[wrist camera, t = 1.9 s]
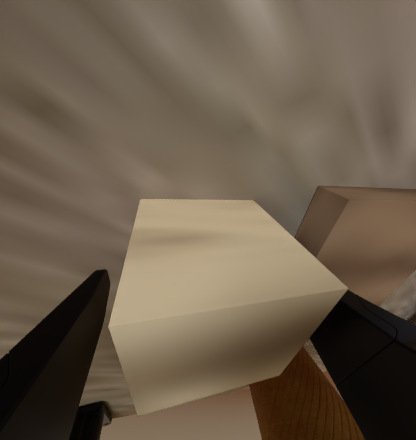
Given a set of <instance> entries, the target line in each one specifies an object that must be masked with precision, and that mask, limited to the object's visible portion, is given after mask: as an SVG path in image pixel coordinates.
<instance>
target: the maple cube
mask: <svg viewBox="0 0 416 440" xmlns="http://www.w3.org/2000/svg"><path fill="white" fill-rule="evenodd" d="M347 290H348V287H346V286H345V285H344V284H343V283H342V282H341V281H340V280H339V279H338V278H337V277H336V276H335V275H334V274H332V273H331V272H330V271H329V270H328V269H327V268H326V267H325V266H324V265H323V264H322V263H321V262H319V261H318V260H317V259H316V258H315V257H314V256H313V255H312V254H311V253H310V252H309V251H308V250H307V249H305V248H304V247H303V246H302V245H301V244H300V243H299V242H298V241H297V240H296V239H295V238H294V237H292V236H291V235H290V234H289V233H288V232H287V231H286V230H285V229H284V228H283V227H282V226H281V225H280V224H278V223H277V222H276V221H275V220H274V219H273V218H272V217H271V216H270V215H269V214H268V213H267V212H265V211H264V210H263V209H262V208H261V207H260V206H259V205H258V204H257V203H256V202H255V201H254V200H170V199H140V203H139V207H138V211H137V215H136V219H135V223H134V227H133V231H132V235H131V239H130V243H129V247H128V251H127V255H126V259H125V263H124V267H123V271H122V275H121V279H120V283H119V287H118V291H117V295H116V299H115V302H114V306H113V310H112V314H111V318H110V322H109V326H108V327H109V330H110V333H111V336H112V339H113V342H114V345H115V348H116V351H117V354H118V357H119V360H120V363H121V366H122V369H123V372H124V376H125V379H126V382H127V385H128V388H129V391H130V394H131V397H132V400H133V403H134V406H135V409H136V412H137V415H138V416H141V415H145V414H148V413H151V412H155V411H158V410H162V409H165V408H169V407H172V406H176V405H179V404H183V403H186V402H190V401H193V400H196V399H200V398H203V397H207V396H210V395H214V394H217V393H221V392H224V391H228V390H231V389H234V388H238V387H241V386H245V385H248V384H252V383H255V382H259V381H262V380H266V379H269V378H272V377H276V376H279V375H280V374H281V373H282V372H283V370H284V369H285V368H286V367H287V365H288V364H289V363H290V362H291V360H292V359H293V358H294V357H295V355H296V354H297V353H298V351H299V350H300V349H301V348H302V346H303V345H304V344H305V343H306V341H307V340H308V339H309V338H310V336H311V335H312V334H313V333H314V331H315V330H316V329H317V328H318V326H319V325H320V324H321V322H322V321H323V320H324V319H325V317H326V316H327V315H328V314H329V312H330V311H331V310H332V309H333V307H334V306H335V305H336V304H337V302H338V301H339V300H340V299H341V297H342V296H343V295H344V294H345V292H346V291H347Z"/></svg>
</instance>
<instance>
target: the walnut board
mask: <svg viewBox="0 0 416 440" xmlns="http://www.w3.org/2000/svg"><path fill="white" fill-rule="evenodd" d="M295 239H296V240H297V241H298V242H299V243H300V244H301V245H302V246H303V247H304V248H305V249H307V250H308V251H309V252H310V253H311V254H312V255H313V256H314V257H315V258H316V259H317V260H318V261H319V262H321V263H322V264H323V265H324V266H325V267H326V268H327V269H328V270H329V271H330V272H331V273H332V274H334V275H335V276H336V277H337V278H338V279H339V280H340V281H341V282H342V283H343V284H344V285H345V286H346V287H348V290H350V291H351V292H353V293H354V294H357V295H359V296H360V297H362V298H364V299H366V300H368V301H369V302H371V303H373V304H375V305H377V306H380V305H381V304H382V303H383V302H384V301H385V300H386V299H387V298H388V297H389V296H390V295H391V294H392V293H393V292H394V291H395V290H396V289H397V288H398V287H399V286H400V285H401V284H402V283H403V282H404V281H405V280H406V279H407V278H408V277H409V276H410V275H411V274H412V273H413V272H414V271H415V270H416V190H415V189H388V188H362V187H335V186H318V188H317V190H316V192H315V195H314V197H313V199H312V201H311V204H310V206H309V208H308V210H307V212H306V215H305V217H304V219H303V221H302V223H301V226H300V228H299V230H298V232H297V234H296V237H295Z"/></svg>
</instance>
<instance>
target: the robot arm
mask: <svg viewBox="0 0 416 440" xmlns="http://www.w3.org/2000/svg"><path fill="white" fill-rule="evenodd" d="M109 290H110V279H109V275H108V272H107V270H105V269H104V270H96V271H95V272H94V273H92V274H91V275H90V276H89V277H88V278H87V279H86V280H85V281H84V282H83V283H82V284H81V285H80V286H79V287H77V288H76V289H75V290H74V291H73V292H72V293H71V294H70V295H69V296H68V297H67V298H66V299H65V300H64V301H62V302H61V303H60V304H59V305H58V306H57V307H56V308H55V309H54V310H53V311H52V312H51V313H50V314H49V315H47V316H46V317H45V318H44V319H43V320H42V321H41V322H40V323H39V324H38V325H37V326H36V327H35V328H34V329H33V330H31V331H30V332H29V333H28V334H27V335H26V336H25V337H24V338H23V339H22V340H21V341H20V342H19V343H18V344H16V345H15V346H14V347H13V348H12V349H11V350H10V351H9V353H8V354H6V355H5V356H3V357H2V358H1V359H0V440H100V434H101V429H102V426H106V425H109V424H111V420H112V418H111V416H110V414H109V413H108V411H107V409H106V408H105V406H104V404H102V403H99V404H95V405H91V406H87V407H83V408H79V409H78V406H79V403H80V400H81V396H82V393H83V390H84V386H85V383H86V380H87V376H88V373H89V369H90V366H91V363H92V359H93V356H94V353H95V349H96V346H97V343H98V339H99V336H100V333H101V329H102V326H103V322H104V318H105V312H106V307H107V301H108V295H109ZM310 340H311V342H312V343H313V345H314V347H315V349H316V351H317V353H318V354H319V356H320V358H321V360H322V362H323V363H324V365H325V367H326V369H327V371H328V372H329V374H330V376H331V378H332V380H333V382H334V383H335V385H336V387H337V389H338V391H339V393H340V395H341V396H342V398H343V400H344V402H345V404H346V406H347V407H348V409H349V411H350V413H351V415H352V417H353V418H354V420H355V422H356V424H357V426H358V427H359V429H360V431H361V433H362V435H363V437H364V438H365V440H416V325H414V324H412V323H410V322H408V321H406V320H404V319H402V318H400V317H398V316H396V315H394V314H392V313H390V312H388V311H386V310H384V309H382V308H381V307H379V306H377V305H375V304H373V303H371V302H369V301H368V300H366V299H364V298H362V297H360V296H359V295H357V294H354V293H353V292H351V291H350V290H347V291H346V292H345V294H344V295H343V296H342V297H341V299H340V300H339V301H338V302H337V304H336V305H335V306H334V307H333V309H332V310H331V311H330V312H329V314H328V315H327V316H326V317H325V319H324V320H323V321H322V322H321V324H320V325H319V326H318V328H317V329H316V330H315V331H314V333H313V334H312V335H311V336H310Z"/></svg>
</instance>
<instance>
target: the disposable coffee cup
mask: <svg viewBox="0 0 416 440" xmlns="http://www.w3.org/2000/svg"><path fill="white" fill-rule="evenodd" d="M249 385H250V390H251V395H252V399H253V403H254V407H255V411H256V415H257V419H258V424H259V429H260V433H261V437H262V440H365V438H364V437H363V435H362V433H361V431H360V429H359V427H358V426H357V424H356V422H355V420H354V418H353V417H352V415H351V413H350V411H349V409H348V407H347V406H346V404H345V402H344V401H343V399H342V398H341V397H340V395H339V394H338V393H337V391H336V390H335V389H334V387H333V386H332V385H331V383H330V382H329V381H328V379H327V378H326V377H325V375H324V374H323V372H322V371H321V370H320V369H319V367H318V366H317V364H316V363H315V362H314V361H313V359H312V358H311V356H310V355H309V354H308V352H307V351H306V350H305V348H304V347H303V346H302V348H301V349H300V350H299V351H298V353H297V354H296V355H295V357H294V358H293V359H292V360H291V362H290V363H289V364H288V365H287V367H286V368H285V369H284V370H283V372H282V373H281V374H280V375H279V376H276V377H272V378H269V379H266V380H262V381H259V382H255V383H252V384H249Z"/></svg>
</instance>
